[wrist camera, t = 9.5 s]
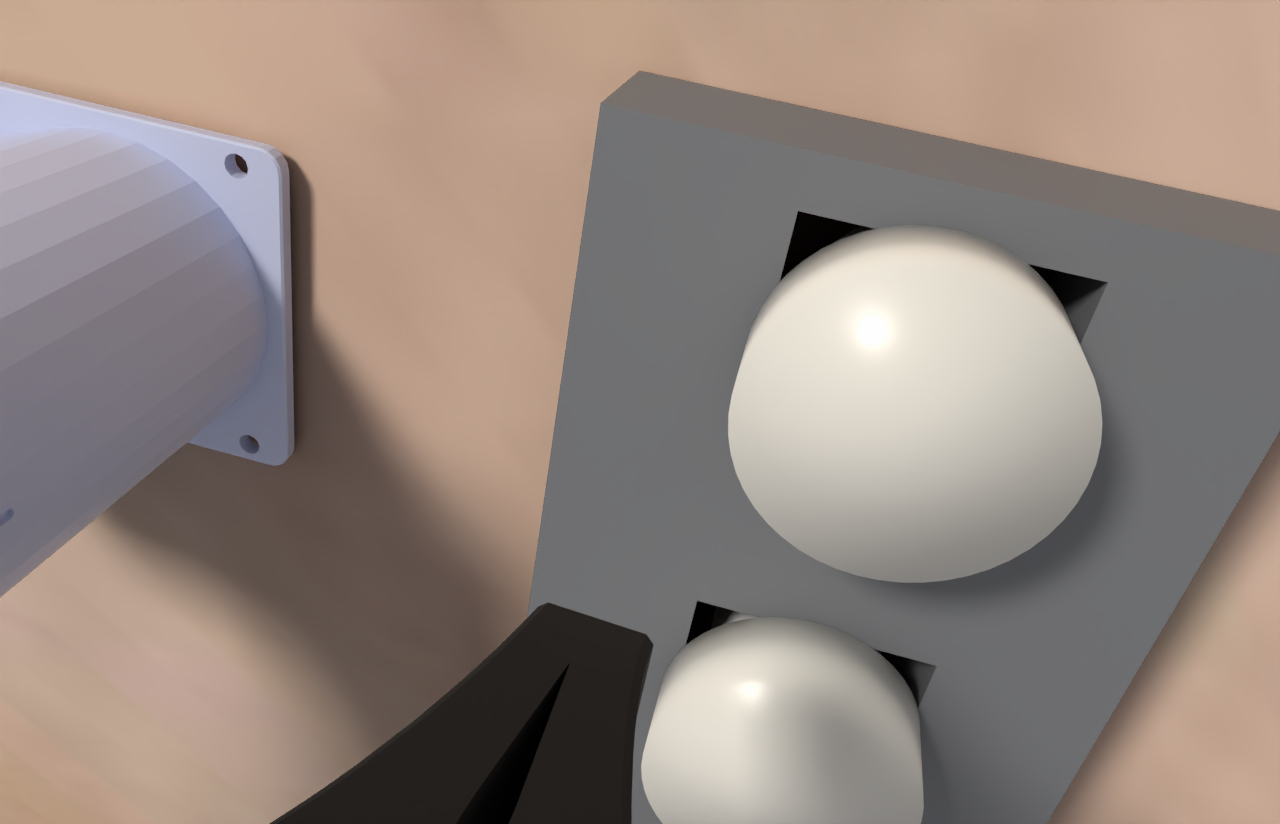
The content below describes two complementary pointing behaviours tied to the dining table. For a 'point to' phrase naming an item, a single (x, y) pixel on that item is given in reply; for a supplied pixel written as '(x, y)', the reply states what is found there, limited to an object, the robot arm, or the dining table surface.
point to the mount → (863, 607)
